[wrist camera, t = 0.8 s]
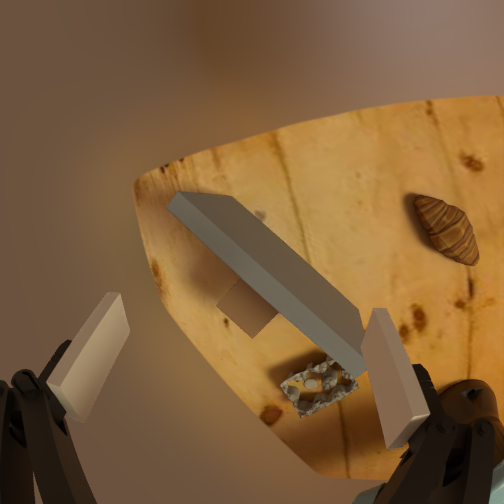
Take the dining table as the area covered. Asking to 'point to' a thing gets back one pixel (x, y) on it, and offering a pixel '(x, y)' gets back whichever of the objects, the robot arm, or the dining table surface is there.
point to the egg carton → (327, 382)
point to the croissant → (448, 229)
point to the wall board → (272, 278)
